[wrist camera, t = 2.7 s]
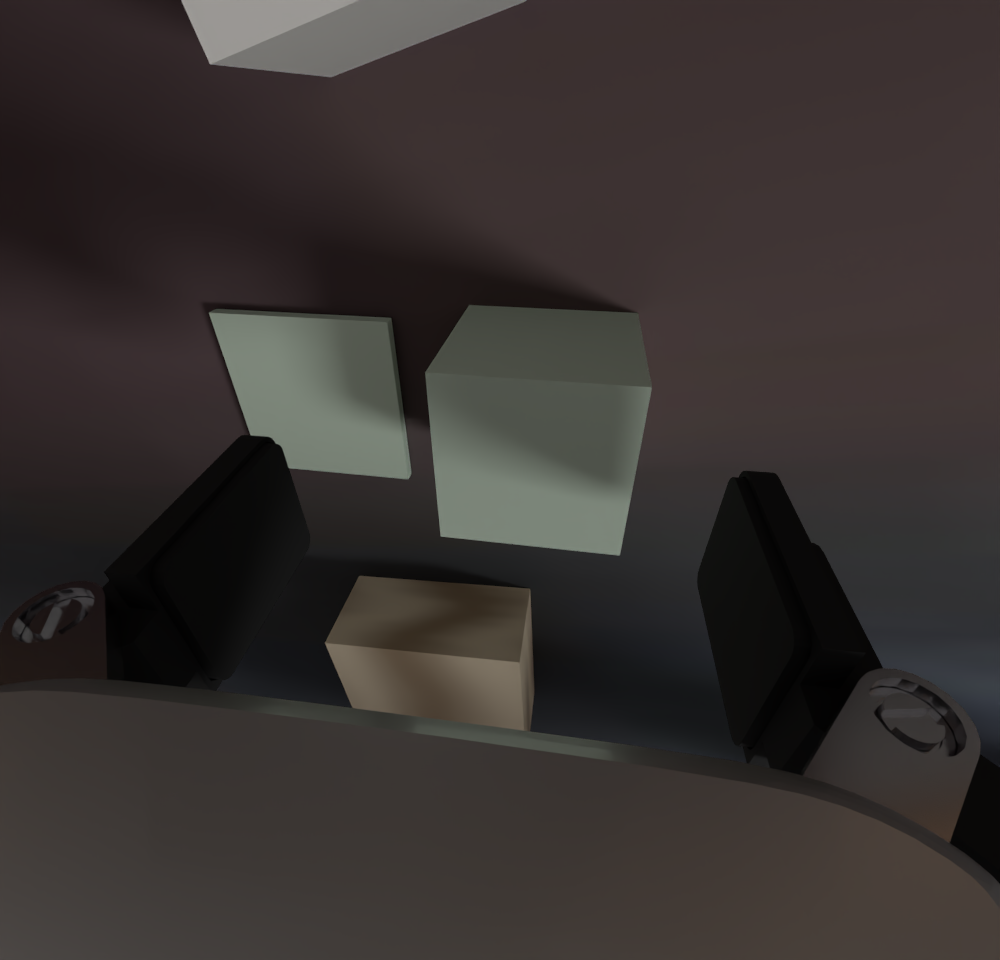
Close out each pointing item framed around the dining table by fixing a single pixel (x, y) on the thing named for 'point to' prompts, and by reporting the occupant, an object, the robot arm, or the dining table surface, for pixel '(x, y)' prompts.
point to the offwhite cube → (324, 30)
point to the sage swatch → (319, 388)
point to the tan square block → (437, 651)
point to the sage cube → (538, 426)
